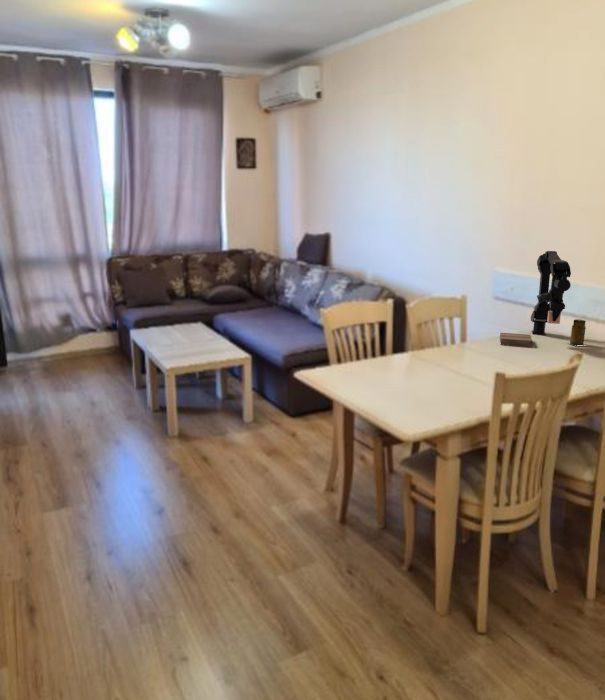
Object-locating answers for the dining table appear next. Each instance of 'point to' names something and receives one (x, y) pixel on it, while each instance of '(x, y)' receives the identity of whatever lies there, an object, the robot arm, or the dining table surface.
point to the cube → (550, 318)
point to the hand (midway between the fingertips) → (553, 320)
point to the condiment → (578, 332)
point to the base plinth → (515, 339)
